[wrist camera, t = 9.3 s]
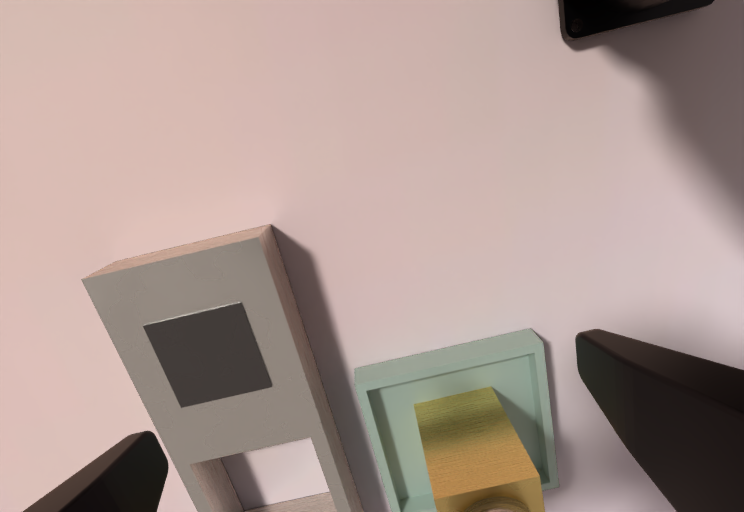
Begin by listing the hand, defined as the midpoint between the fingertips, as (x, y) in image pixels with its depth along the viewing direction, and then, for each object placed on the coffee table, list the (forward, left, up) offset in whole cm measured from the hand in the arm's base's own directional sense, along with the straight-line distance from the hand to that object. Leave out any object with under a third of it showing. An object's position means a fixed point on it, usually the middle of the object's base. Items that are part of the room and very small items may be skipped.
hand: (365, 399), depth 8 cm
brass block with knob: (-3, +12, -12) cm, 17 cm away
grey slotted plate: (+8, +10, -12) cm, 18 cm away
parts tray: (-3, +12, -12) cm, 17 cm away
